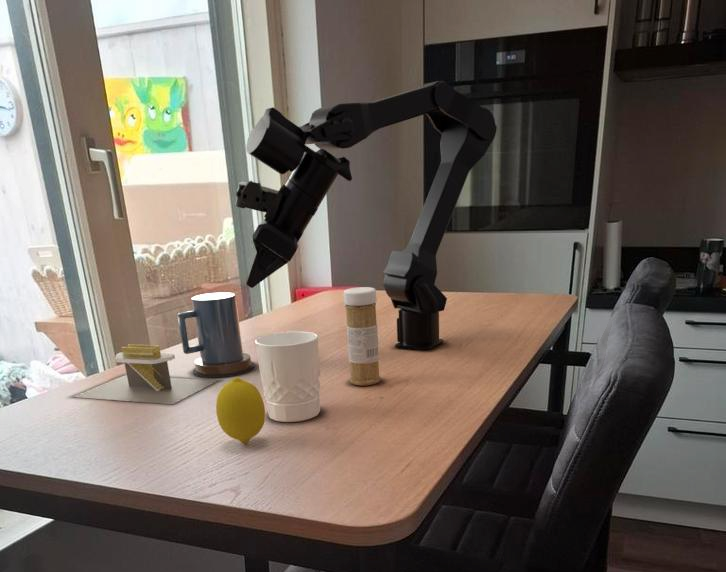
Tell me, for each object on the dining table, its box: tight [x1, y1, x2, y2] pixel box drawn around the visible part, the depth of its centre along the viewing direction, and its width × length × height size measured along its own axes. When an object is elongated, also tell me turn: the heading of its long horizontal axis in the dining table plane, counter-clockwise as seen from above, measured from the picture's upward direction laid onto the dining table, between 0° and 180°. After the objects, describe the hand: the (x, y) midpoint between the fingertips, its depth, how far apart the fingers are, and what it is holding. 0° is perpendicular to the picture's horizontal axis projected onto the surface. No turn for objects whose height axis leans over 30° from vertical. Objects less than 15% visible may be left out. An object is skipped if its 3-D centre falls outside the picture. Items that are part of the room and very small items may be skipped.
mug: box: [177, 292, 252, 375], centre depth 112 cm, size 11×9×12 cm
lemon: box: [215, 376, 266, 444], centre depth 81 cm, size 6×6×8 cm
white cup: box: [254, 330, 321, 423], centre depth 89 cm, size 8×8×10 cm
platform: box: [73, 343, 218, 405], centre depth 105 cm, size 12×18×7 cm, turn 68°
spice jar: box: [343, 286, 381, 386], centre depth 100 cm, size 5×5×13 cm
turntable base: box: [192, 361, 256, 379], centre depth 115 cm, size 10×10×1 cm
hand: (252, 279), depth 109 cm, fingers open, 9 cm apart
